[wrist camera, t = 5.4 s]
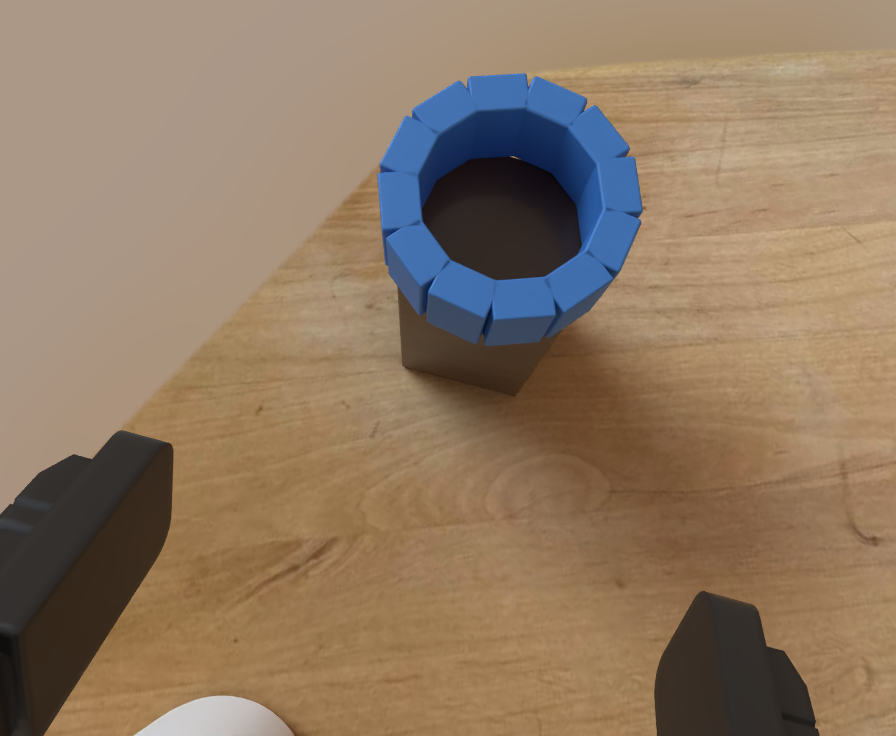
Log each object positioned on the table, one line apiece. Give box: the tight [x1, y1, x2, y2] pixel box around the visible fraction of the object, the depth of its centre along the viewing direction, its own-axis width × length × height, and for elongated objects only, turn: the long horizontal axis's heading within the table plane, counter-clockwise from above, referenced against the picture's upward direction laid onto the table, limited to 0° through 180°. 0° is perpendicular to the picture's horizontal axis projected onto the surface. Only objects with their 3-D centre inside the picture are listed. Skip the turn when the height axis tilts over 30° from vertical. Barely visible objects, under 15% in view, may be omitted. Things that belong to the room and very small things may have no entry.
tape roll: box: [378, 73, 643, 346], centre depth 21 cm, size 6×6×3 cm
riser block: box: [397, 157, 582, 396], centre depth 27 cm, size 5×5×10 cm
